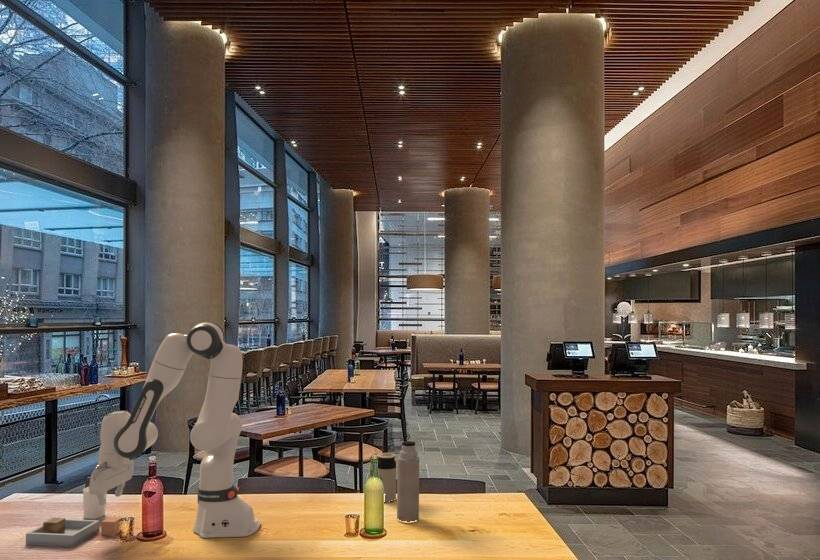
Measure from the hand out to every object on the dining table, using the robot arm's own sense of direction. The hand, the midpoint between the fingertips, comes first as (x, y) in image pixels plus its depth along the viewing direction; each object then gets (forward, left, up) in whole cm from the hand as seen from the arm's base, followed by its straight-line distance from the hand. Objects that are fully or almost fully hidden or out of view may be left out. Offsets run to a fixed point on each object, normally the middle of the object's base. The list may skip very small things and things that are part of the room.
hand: (110, 500), depth 203 cm
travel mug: (-89, -46, -11) cm, 101 cm away
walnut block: (+16, +6, -10) cm, 19 cm away
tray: (+12, +6, -11) cm, 17 cm away
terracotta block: (-1, 0, -11) cm, 11 cm away
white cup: (+15, -15, -11) cm, 24 cm away
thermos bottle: (-100, -24, -11) cm, 103 cm away
